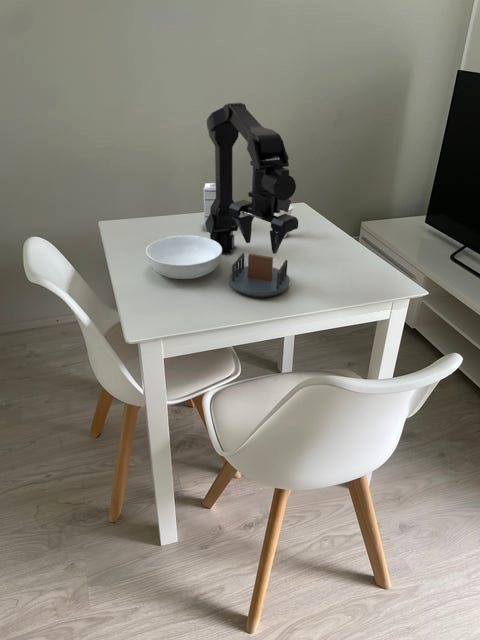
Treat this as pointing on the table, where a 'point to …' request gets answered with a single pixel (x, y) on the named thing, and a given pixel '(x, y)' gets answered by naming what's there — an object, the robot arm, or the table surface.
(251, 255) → the drying rack
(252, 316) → the table surface
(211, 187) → the syrup box
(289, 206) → the smoothie
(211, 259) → the serving bowl
